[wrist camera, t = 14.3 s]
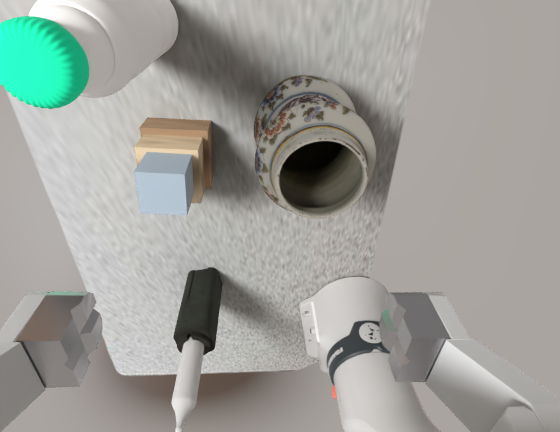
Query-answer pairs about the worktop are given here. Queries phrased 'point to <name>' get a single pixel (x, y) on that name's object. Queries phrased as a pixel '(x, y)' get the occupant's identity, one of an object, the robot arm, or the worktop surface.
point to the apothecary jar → (312, 148)
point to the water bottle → (82, 47)
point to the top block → (179, 147)
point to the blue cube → (164, 183)
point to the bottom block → (185, 129)
